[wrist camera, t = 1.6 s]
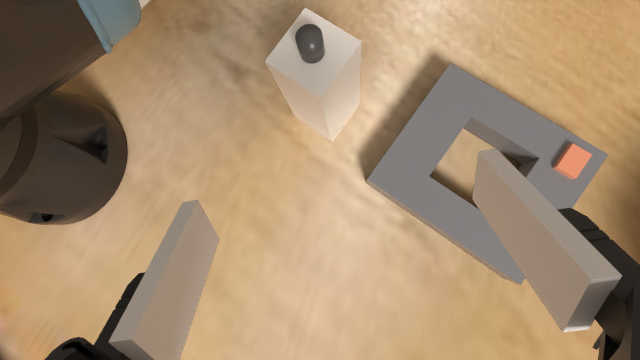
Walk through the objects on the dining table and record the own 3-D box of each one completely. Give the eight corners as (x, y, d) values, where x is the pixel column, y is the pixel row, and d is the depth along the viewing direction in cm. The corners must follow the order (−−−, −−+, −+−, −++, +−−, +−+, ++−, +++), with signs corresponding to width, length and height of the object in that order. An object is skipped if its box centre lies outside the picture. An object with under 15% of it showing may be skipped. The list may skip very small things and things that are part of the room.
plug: (295, 117, 34) (256, 47, 20) (322, 82, 34) (301, -12, 20) (332, 142, 33) (316, 86, 19) (358, 105, 33) (362, 25, 19)
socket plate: (366, 182, 32) (367, 178, 28) (441, 77, 32) (452, 59, 29) (503, 278, 29) (524, 286, 26) (583, 161, 30) (614, 153, 26)
